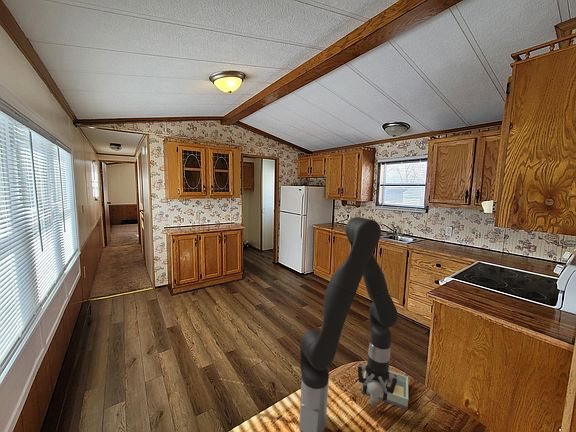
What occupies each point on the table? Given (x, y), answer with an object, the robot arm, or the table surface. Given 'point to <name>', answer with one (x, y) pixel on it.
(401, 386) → the tray
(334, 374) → the table surface
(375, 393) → the lightbulb
